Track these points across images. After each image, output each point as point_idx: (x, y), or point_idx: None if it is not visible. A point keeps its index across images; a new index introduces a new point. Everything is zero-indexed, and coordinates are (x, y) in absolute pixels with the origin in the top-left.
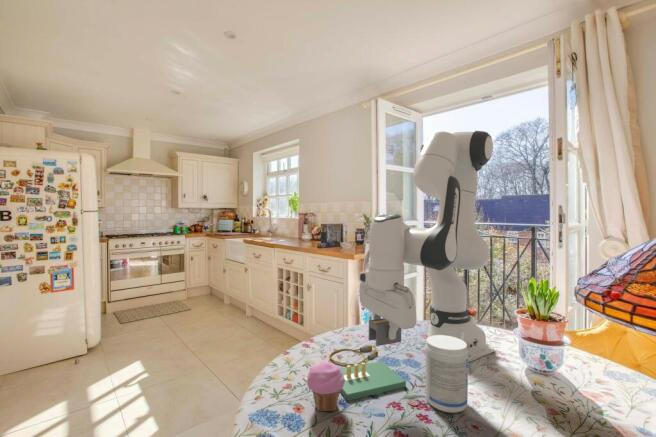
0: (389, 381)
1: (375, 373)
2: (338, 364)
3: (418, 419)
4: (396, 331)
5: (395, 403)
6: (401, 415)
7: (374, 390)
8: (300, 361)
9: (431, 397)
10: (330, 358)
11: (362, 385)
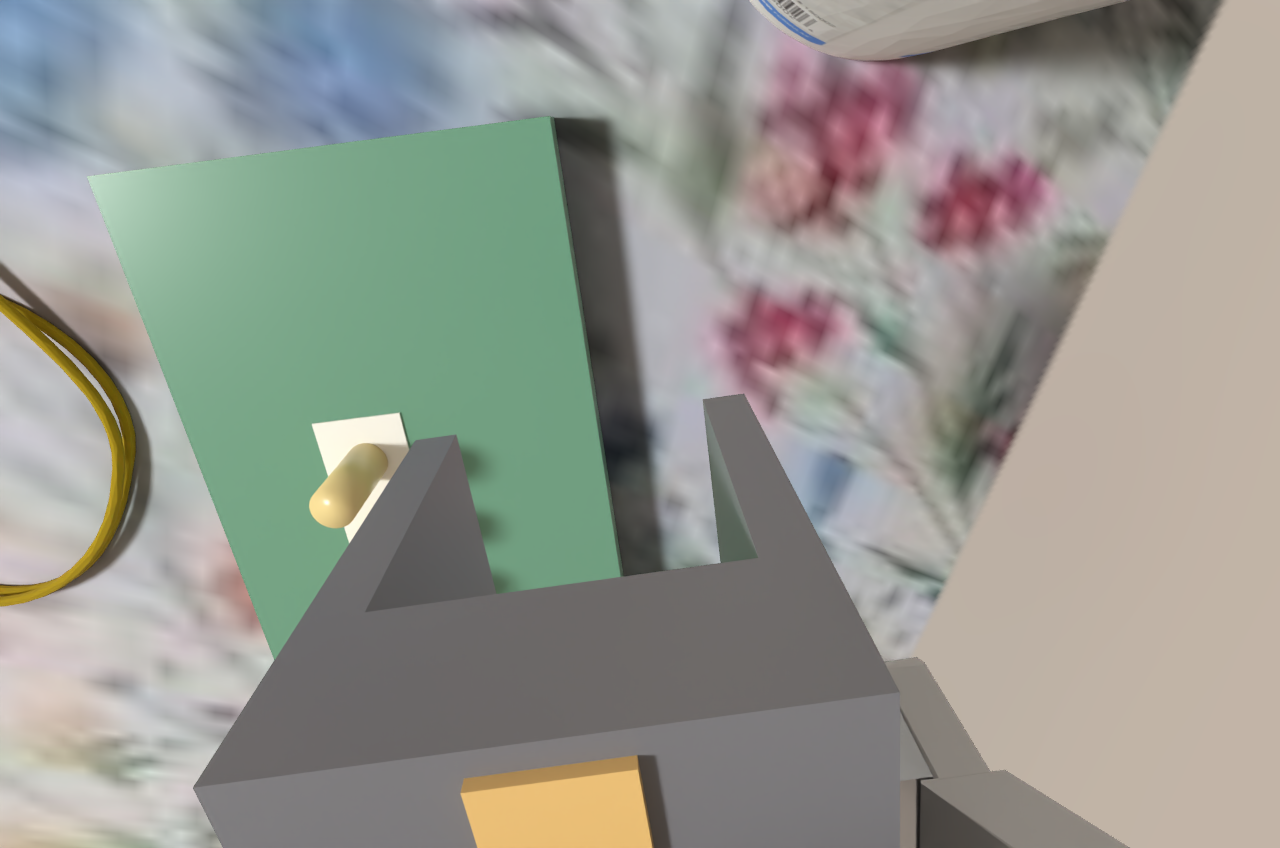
0: (523, 283)
1: (362, 351)
2: (101, 554)
3: (973, 255)
4: (1017, 779)
5: (752, 329)
6: (890, 352)
7: (601, 444)
8: (55, 790)
9: (933, 51)
10: (5, 605)
11: (541, 523)
